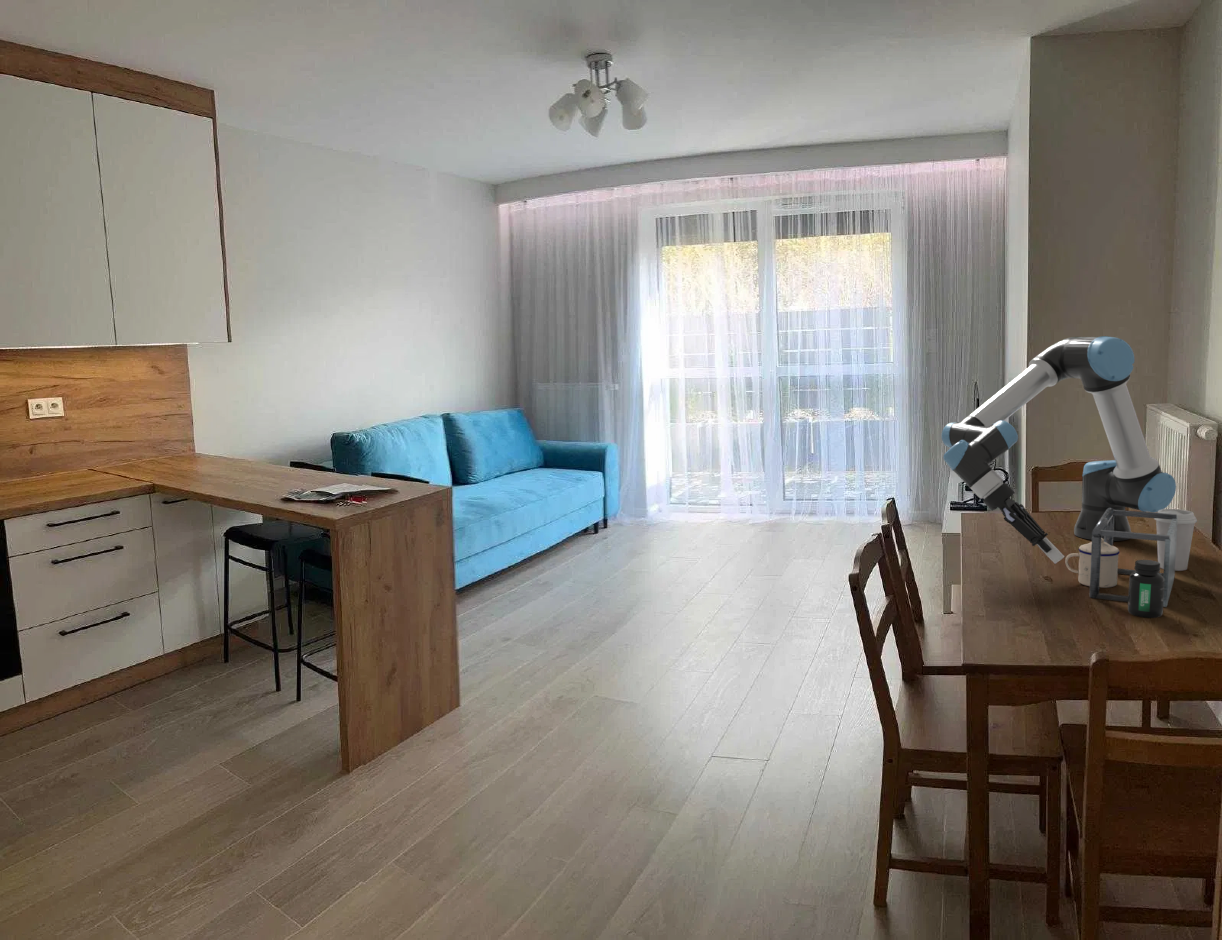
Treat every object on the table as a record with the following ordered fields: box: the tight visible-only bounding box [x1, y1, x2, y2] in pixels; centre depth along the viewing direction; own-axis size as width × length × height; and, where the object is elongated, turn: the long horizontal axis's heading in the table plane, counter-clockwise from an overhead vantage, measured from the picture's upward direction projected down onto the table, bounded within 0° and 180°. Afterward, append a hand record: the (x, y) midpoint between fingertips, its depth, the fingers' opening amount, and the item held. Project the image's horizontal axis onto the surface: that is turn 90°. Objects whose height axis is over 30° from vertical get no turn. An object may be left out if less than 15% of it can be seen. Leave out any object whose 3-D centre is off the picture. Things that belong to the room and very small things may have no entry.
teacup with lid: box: [1064, 538, 1121, 589], centre depth 228 cm, size 12×9×12 cm
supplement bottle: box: [1127, 559, 1164, 619], centre depth 204 cm, size 7×7×12 cm
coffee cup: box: [1153, 508, 1198, 572], centre depth 238 cm, size 10×10×15 cm
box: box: [1088, 508, 1178, 608], centre depth 223 cm, size 27×16×17 cm, turn 145°
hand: (1059, 560), depth 231 cm, fingers closed
